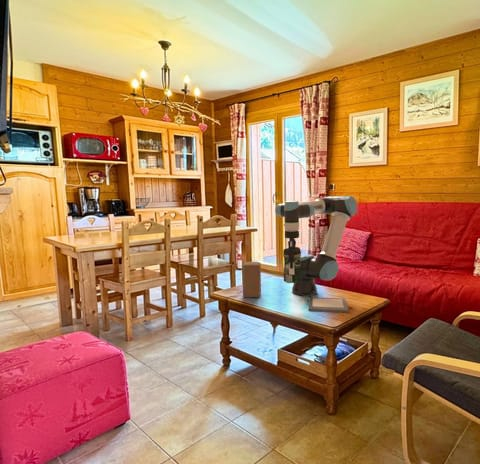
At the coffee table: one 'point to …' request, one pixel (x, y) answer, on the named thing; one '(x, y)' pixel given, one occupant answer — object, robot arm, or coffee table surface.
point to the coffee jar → (297, 266)
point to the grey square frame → (328, 304)
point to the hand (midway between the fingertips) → (292, 272)
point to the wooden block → (251, 279)
